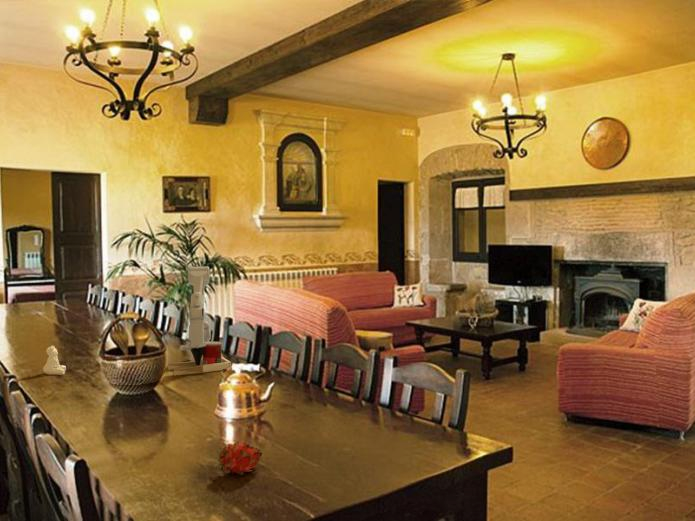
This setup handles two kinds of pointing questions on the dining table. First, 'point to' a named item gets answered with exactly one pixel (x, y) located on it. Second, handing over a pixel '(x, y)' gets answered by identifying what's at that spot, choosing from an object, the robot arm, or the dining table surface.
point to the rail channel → (185, 368)
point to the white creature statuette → (53, 363)
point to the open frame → (215, 365)
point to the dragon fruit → (239, 458)
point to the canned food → (212, 353)
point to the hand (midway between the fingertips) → (197, 365)
